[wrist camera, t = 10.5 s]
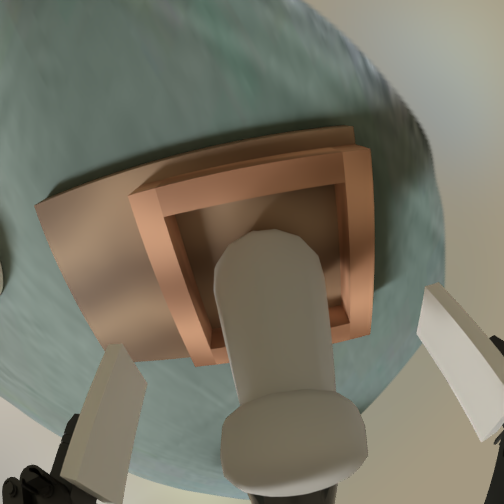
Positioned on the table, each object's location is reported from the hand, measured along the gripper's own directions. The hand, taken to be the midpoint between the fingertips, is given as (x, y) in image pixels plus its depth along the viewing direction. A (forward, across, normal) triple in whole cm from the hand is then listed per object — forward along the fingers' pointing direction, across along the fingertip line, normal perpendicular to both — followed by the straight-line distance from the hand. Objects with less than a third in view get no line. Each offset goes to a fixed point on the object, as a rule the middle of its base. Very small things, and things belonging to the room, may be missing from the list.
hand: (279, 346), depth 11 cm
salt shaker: (+7, 0, 0) cm, 7 cm away
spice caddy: (+8, +4, 0) cm, 9 cm away
